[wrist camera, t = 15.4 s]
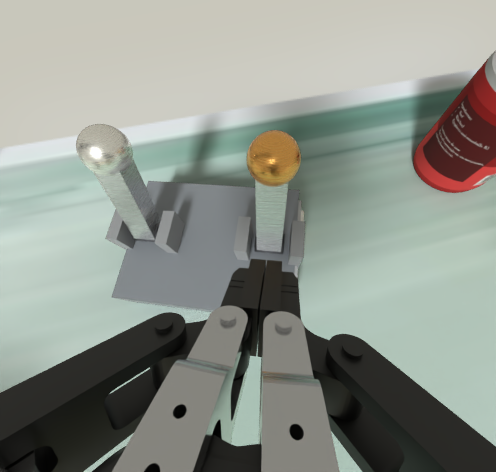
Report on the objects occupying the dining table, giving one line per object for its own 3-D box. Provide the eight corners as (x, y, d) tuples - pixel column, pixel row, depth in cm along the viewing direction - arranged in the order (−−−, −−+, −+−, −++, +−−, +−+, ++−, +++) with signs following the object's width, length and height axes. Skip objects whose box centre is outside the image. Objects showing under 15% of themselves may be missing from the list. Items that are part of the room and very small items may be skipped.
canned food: (488, 147, 28) (616, 40, 17) (481, 204, 25) (626, 119, 15) (417, 131, 29) (496, 25, 19) (404, 183, 27) (487, 94, 17)
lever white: (128, 250, 22) (51, 138, 14) (143, 224, 24) (84, 114, 16) (162, 253, 21) (102, 140, 13) (174, 227, 23) (129, 115, 15)
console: (131, 301, 25) (86, 292, 18) (161, 199, 29) (131, 165, 23) (294, 322, 23) (303, 320, 16) (300, 209, 27) (309, 174, 21)
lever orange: (248, 262, 20) (240, 147, 12) (253, 233, 22) (249, 119, 14) (286, 266, 20) (304, 150, 12) (288, 236, 22) (304, 120, 14)
